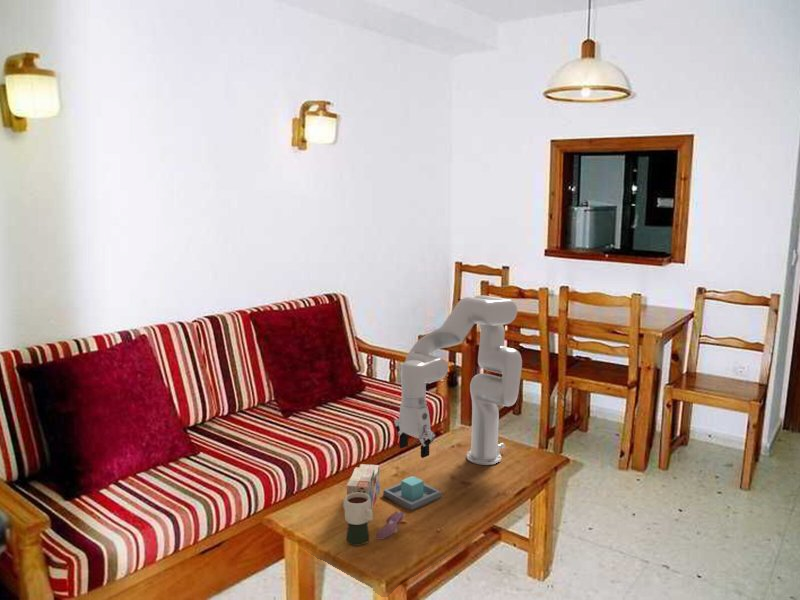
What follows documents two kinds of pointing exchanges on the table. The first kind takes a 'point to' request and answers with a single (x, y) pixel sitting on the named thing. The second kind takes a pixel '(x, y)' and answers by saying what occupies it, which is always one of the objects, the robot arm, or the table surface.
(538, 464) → the table surface
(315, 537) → the table surface
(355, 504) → the character mug
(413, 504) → the tray
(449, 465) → the table surface
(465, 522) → the table surface
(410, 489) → the cube
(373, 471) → the stack of blocks
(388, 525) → the purple elongated lump
